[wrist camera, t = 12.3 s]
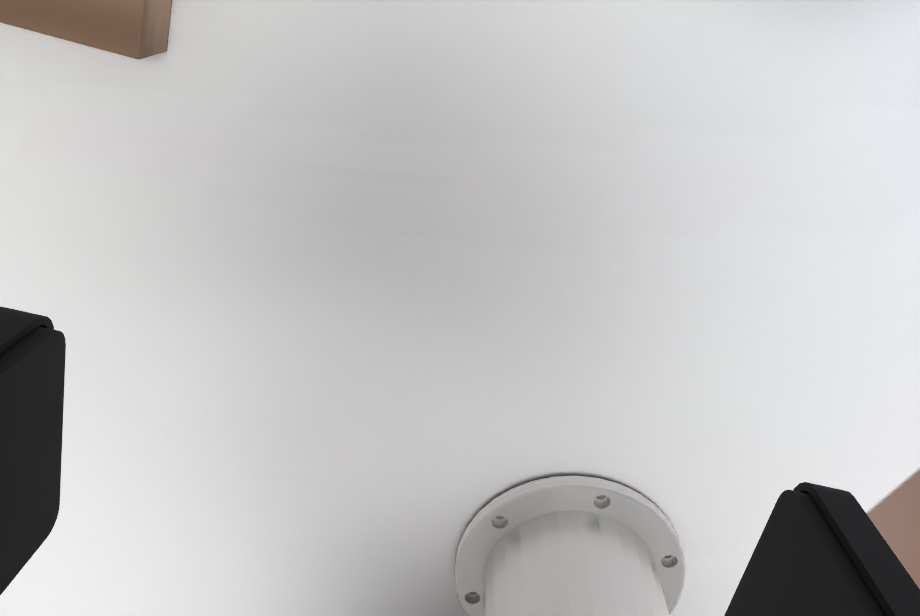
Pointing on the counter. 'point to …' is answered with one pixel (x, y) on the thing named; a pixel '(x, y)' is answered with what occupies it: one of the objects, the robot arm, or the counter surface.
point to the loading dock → (96, 22)
